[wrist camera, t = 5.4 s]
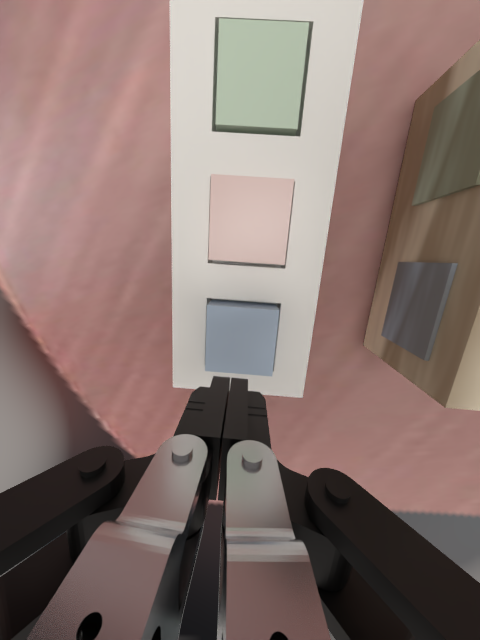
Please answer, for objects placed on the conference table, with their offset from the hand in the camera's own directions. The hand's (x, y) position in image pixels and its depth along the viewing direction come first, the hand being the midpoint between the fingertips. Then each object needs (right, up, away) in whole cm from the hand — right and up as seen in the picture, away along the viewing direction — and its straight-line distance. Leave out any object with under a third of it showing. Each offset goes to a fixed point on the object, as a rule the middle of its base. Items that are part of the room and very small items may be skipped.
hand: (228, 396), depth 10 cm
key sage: (+2, +20, +8) cm, 21 cm away
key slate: (+1, +2, +11) cm, 11 cm away
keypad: (+1, +11, +11) cm, 16 cm away
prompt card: (+14, +10, +10) cm, 20 cm away
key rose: (+1, +11, +9) cm, 14 cm away
